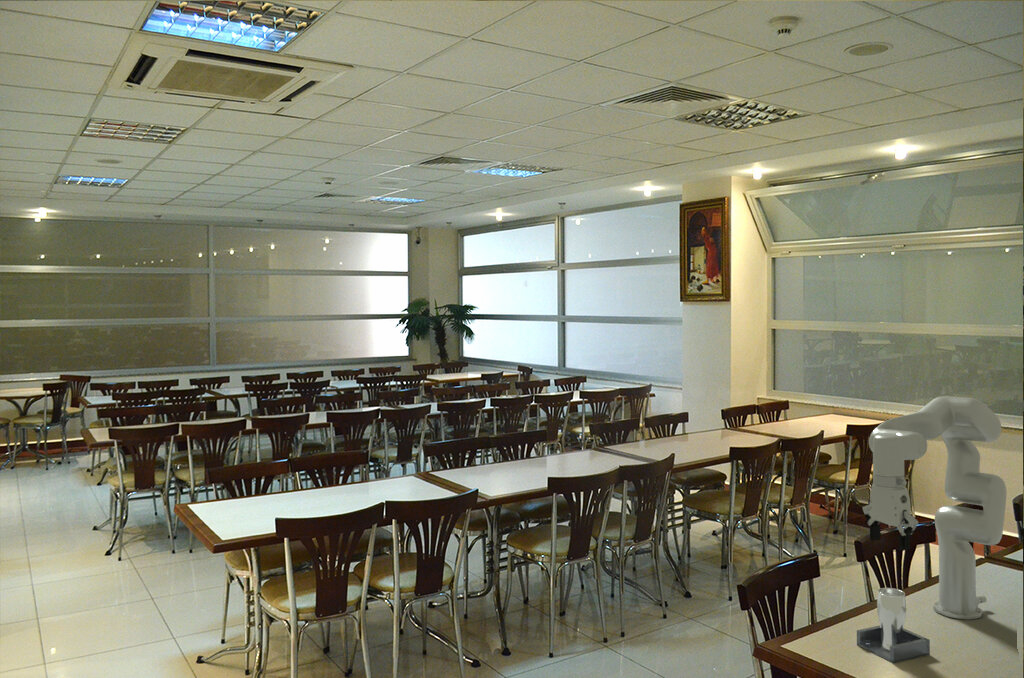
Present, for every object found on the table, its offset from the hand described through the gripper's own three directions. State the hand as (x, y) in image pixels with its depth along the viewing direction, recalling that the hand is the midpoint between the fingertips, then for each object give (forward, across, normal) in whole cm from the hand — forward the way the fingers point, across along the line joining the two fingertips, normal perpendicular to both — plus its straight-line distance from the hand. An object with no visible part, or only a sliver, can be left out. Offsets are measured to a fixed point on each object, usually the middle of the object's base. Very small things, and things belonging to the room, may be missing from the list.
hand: (889, 544), depth 209 cm
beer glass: (+28, 0, 0) cm, 28 cm away
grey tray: (+28, 0, 0) cm, 28 cm away
